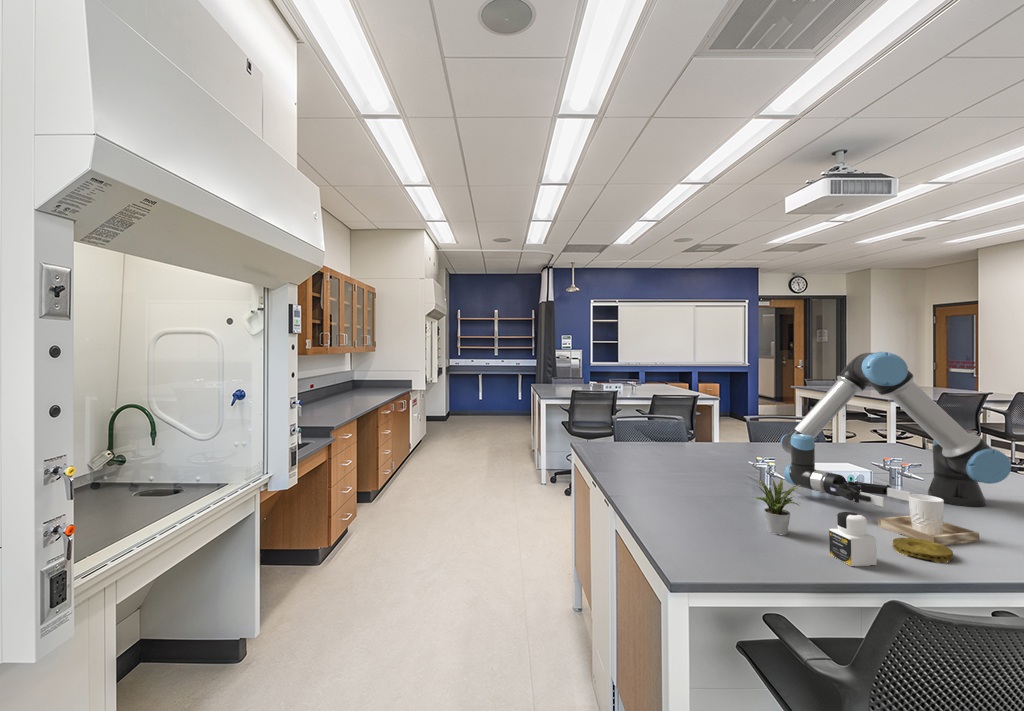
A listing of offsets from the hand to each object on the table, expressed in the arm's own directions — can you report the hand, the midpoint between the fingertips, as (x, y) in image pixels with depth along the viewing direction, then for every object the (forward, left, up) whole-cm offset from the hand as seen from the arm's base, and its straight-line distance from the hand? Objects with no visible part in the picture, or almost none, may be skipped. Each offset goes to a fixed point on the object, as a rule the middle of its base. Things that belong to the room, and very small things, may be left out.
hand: (897, 499), depth 143 cm
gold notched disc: (+14, +18, -9) cm, 25 cm away
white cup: (-2, +7, -8) cm, 11 cm away
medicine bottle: (+37, +18, -8) cm, 42 cm away
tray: (-1, +7, -8) cm, 11 cm away
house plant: (+41, -2, -8) cm, 42 cm away
